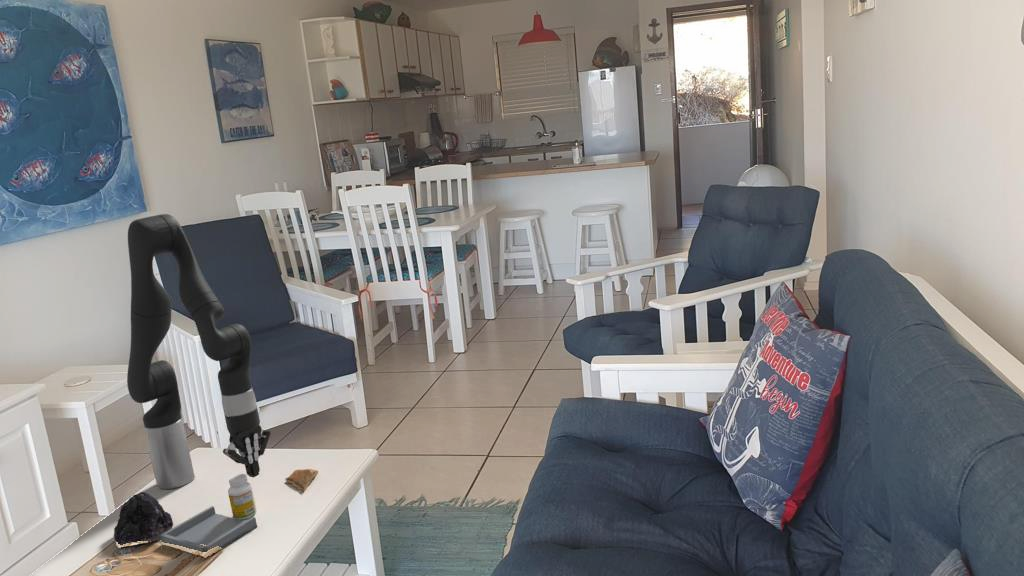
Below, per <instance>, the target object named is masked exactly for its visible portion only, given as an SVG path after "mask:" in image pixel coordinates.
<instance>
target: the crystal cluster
mask: <svg viewBox="0 0 1024 576" xmlns="http://www.w3.org/2000/svg"><path fill="white" fill-rule="evenodd" d="M118 515H119V517H118V520H117V523H116V526H114V528H113V539H114V541H116V542H118V544H120V545H123V544H126V543H131V542H137V541H148V542H150V541H153V542H156V541H159V540H161V536H160V535H161V534H163V533H165V532H167V531H168V530H170V529H172V528H174V522H173V517H172V515H171V513H169V512H168V511H167V512H166V511H165V510H164V508H163V506H162V505H161V504H160V502H159V500H157V498H155V497H154V496H152V495H150V494H149V493H147V492H146V491H140V492H138V493H136V494H133V496H130V497H129V499H128V500H127V501H126V502H124V504H122V506H121V507H120V510H119V514H118ZM116 542H115V543H116Z"/></svg>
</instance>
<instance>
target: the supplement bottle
mask: <svg viewBox="0 0 1024 576" xmlns="http://www.w3.org/2000/svg"><path fill="white" fill-rule="evenodd" d="M247 477H248V476H247V474H246V473H239V474H234V475H233V476H231V477H229V478H228V483H229V488H228V491H227V493H228V494H227V495H228V499H229V505H230V507H231V508H230V509H231V513H232V518H234V519H238V520H242V521H245V520H249V519H250V518H252V517H255V515H256V514H257V505H256V501H255V495H254V491H253V487H252V484H251V483H250V482H248V478H247Z"/></svg>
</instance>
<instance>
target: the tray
mask: <svg viewBox="0 0 1024 576" xmlns="http://www.w3.org/2000/svg"><path fill="white" fill-rule="evenodd" d="M256 528H258V523H257V519H256V517H255V516H252V517H250V518H248V519H246V520H238V519H234V517H229V516H227V515H223V514H218V513H216V509H215V506H212V505H211V506H209V507H208V508H206V509H204V510H202V511H200V512H198V513H196V515H193V516H192V517H190V518H188V519H186V520H185V521H183V522H181V523H179V524H177V525H175V526H173V527H172V529H170V530H168V531H167V532H165V533H163V534H161V535H160V536H161V539H160V540H161V543H162V542H164V543H169V544H174V545H179V546H183V547H186V548H189V549H194V550H198V551H201V552H207V551H208V550H210V549H212V548H214V547H216V546H219V547H221V548H222V549H221V550H224V548H226V547H227V546H229V545H230V544H232V543H233V542H234V543H235V541H237V540H238V539H240V538H242V537H244V536H245V535H246V534H248V533H250V532H251V531H253V530H254V529H256ZM200 544H204V545H206V546H203V545H200Z"/></svg>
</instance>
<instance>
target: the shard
mask: <svg viewBox="0 0 1024 576" xmlns="http://www.w3.org/2000/svg"><path fill="white" fill-rule="evenodd" d="M317 473H318V474H319V470H318V469H317V470H316V469H314V468H313V469H312V468H310V469H309V468H306V469H295V470H293V471H292V473H290V474H289V476H288V477H286V478H285V479H284V480H285V482H286V483H288V482H289V484H291V485H292V486H294V487H295V488H296V489H298V490H300V491H301V490H302V492H304V491H305V490H307V489H308V487H309V485H310V484H311V482H312V481H313V480H314V479H315V477H316V476H317V475H318V474H317ZM312 479H313V480H312ZM309 483H310V484H309ZM307 486H308V487H307ZM305 492H306V491H305Z"/></svg>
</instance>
